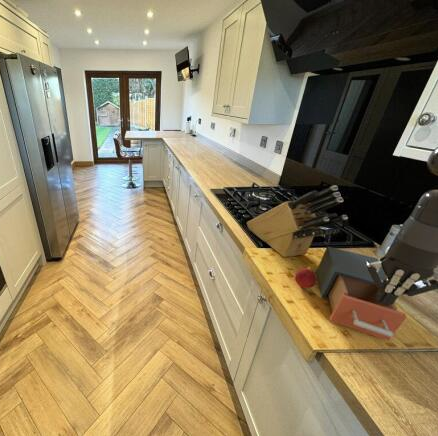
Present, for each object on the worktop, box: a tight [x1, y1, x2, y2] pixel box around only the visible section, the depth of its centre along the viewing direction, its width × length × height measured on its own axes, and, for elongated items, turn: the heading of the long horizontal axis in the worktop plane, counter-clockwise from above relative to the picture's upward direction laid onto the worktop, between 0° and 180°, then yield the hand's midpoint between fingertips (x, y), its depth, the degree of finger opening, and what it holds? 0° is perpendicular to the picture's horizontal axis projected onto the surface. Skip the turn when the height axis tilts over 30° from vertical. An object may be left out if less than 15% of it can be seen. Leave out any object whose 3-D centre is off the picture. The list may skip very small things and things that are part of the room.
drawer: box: [328, 274, 408, 342], centre depth 65 cm, size 20×13×9 cm, turn 152°
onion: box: [294, 266, 317, 289], centre depth 77 cm, size 6×6×8 cm
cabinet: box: [315, 246, 385, 301], centre depth 76 cm, size 16×14×11 cm
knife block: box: [246, 185, 349, 258], centre depth 95 cm, size 11×35×31 cm, turn 13°
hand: (382, 302), depth 56 cm, fingers closed
